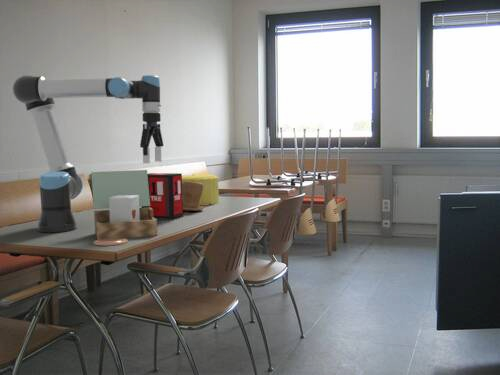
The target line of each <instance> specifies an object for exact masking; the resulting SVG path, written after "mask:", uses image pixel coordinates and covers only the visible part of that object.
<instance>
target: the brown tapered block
mask: <svg viewBox="0 0 500 375" xmlns="http://www.w3.org/2000/svg"><path fill="white" fill-rule="evenodd" d="M202 191H203V184H202V183H198V182H189V181H184V182H183V183H182V195H183V212H198V211H202V210H204V206H200V204H199V201H200V198H201V195H202Z"/></svg>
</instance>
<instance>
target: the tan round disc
mask: <svg viewBox="0 0 500 375" xmlns="http://www.w3.org/2000/svg"><path fill="white" fill-rule="evenodd" d="M128 242H129V241H128V239H127V238H105V239H99V240H98V239H96V240H94V241H93V245H95V246H98V247H112V246H121V245H125V244H127V243H128Z"/></svg>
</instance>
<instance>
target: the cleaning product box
mask: <svg viewBox="0 0 500 375" xmlns="http://www.w3.org/2000/svg"><path fill="white" fill-rule="evenodd" d="M182 175H183V173H171V172H170V173H164V172H163V173H158V172H157V173H155V172H153V173H152V172H149V173H147V176H148V187H149V197H150V206H140V208H148V207H151V208H152V209H153V217H154V218H155V219H156V220H170V219H171V220H177V219H181V218H183V217H184V211H183V198H182Z"/></svg>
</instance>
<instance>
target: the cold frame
mask: <svg viewBox="0 0 500 375" xmlns="http://www.w3.org/2000/svg"><path fill="white" fill-rule="evenodd" d="M139 212H140V221H128V222H113V223H110V211H109V209H98V210H93V217H94V218H93V220H94V234H95V236H96V240H99V239H105V238H125V239H127V238H129V239H130V238H131V237H132V238H143V236H145V237H156V236H155V235H157V236H158V219H155V218H154V217H153V209H152V208H151V207H148V208H141V207H139Z"/></svg>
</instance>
